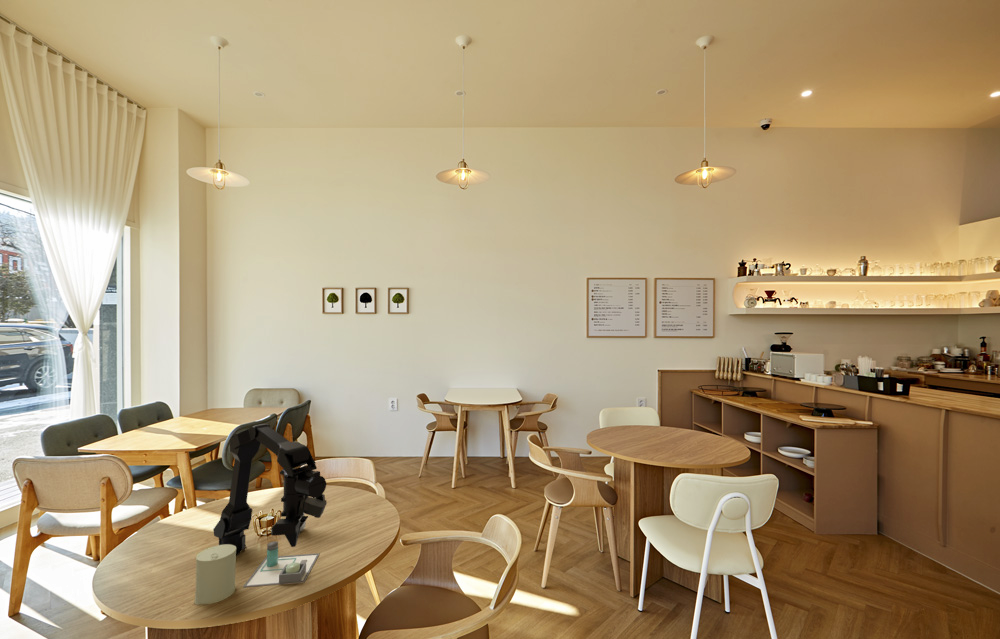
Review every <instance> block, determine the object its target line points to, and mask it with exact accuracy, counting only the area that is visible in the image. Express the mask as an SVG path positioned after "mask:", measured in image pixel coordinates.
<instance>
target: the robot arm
mask: <svg viewBox="0 0 1000 639" xmlns="http://www.w3.org/2000/svg"><path fill="white" fill-rule="evenodd" d="M261 445H262V446H264V447H265V448H267V449H268V450H269V451H271V452H272V453H273V454H274V455H276V462H277V463H278V465H279V466H280V467H281V468H282V469H281V470H280V471H279V475H282V476H283V495H282V497H281V499H280V502H281V503H283V506H282V507H283V510H282V511H281V513H280V517H282V518H279V519H278V520H277V521H276V522H275V523H274V524H273V526H272V527H271V531H270V535H271V536H284V537H285V538H286V539H287V541H288V543H289V546H291V548H295V547H297V544H298V539H299V536H300V529H301V526H302V525H303V524H304V522H305V521H307V519H308V518H309V516H312V517H314V518H317V519H320V518H321V516H322V515H323V513H324V511H325V508H326V506H327V503H328V502H327V500H326V497H325V494H324V492H325V490H326V488H327V481H326V479H325V477H324V476H322V475H321V471H319V470H317V468H318V467H317V465H316V461H315V459H314V458H313V456H312V452H311V451H310V449H309V448H308V446H307V445H305V444H302V443H300V442H296V441H295V442H293V441H289V439H287V438H285V437H284V436H283V435H282V434H280V433H278V432H277V431H276V430H275V429H273V428H272V427H271V425H270V424H268V423H261V424H256V425H253V426H250V427H249V428H248V429H245V430H243V431H241V432H237V433H234V434H233V435H232V436H231V437H230V439H229V452H230V454H231V455H232V456H233V458H234V461H233V462H234V463H233V469H232V476H231V477H232V478H231V485H230V491H229V492H230V493H229V499H228V503H227V504H226V505H225V507H224V508H223V510H222V511H221V513H220V514H221V515H220V519H219V520H218V521H217V524H216V525H214V527H213V529H212V530H213V535H214V536H213V537H216V538H218V545H224V544H230V545H234V546H236V556H238V555H240V553H241V552H243V550H244V549H245V548H246V547H247V545H246V536H247V535H246V534H245V530H249V528H250V524H251V521H252V519H253V518H252V514H253V508H252V507H250V505H249V504H248V494H249V486H250V479H251V478H250V477H251V473H252V472H251V471H252V463H253V458H255V456H256V455H257V454H258V453H259V451H260V448H261ZM303 515H305V516H303ZM283 517H284V518H283Z"/></svg>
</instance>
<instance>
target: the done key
mask: <svg viewBox="0 0 1000 639" xmlns="http://www.w3.org/2000/svg"><path fill="white" fill-rule="evenodd" d="M299 572H300V564H299V563H291V564H289V565H287V566H286V574H288V573H299Z"/></svg>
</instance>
